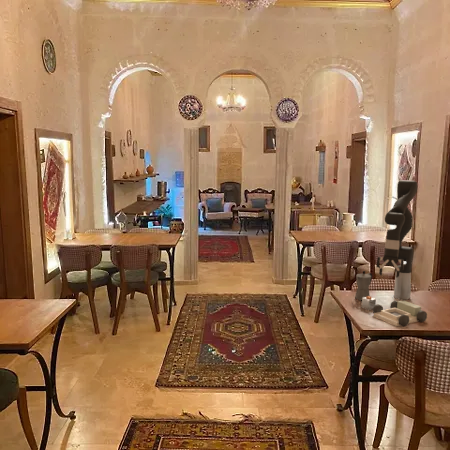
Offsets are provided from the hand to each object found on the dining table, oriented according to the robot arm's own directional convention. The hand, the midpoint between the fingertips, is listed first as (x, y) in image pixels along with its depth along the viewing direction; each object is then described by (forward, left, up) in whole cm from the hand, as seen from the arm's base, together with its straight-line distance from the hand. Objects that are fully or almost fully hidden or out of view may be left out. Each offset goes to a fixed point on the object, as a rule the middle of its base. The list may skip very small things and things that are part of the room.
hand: (388, 276), depth 251 cm
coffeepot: (-9, -27, -22) cm, 36 cm away
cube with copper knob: (+2, -12, -22) cm, 25 cm away
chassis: (-1, +8, -22) cm, 24 cm away
